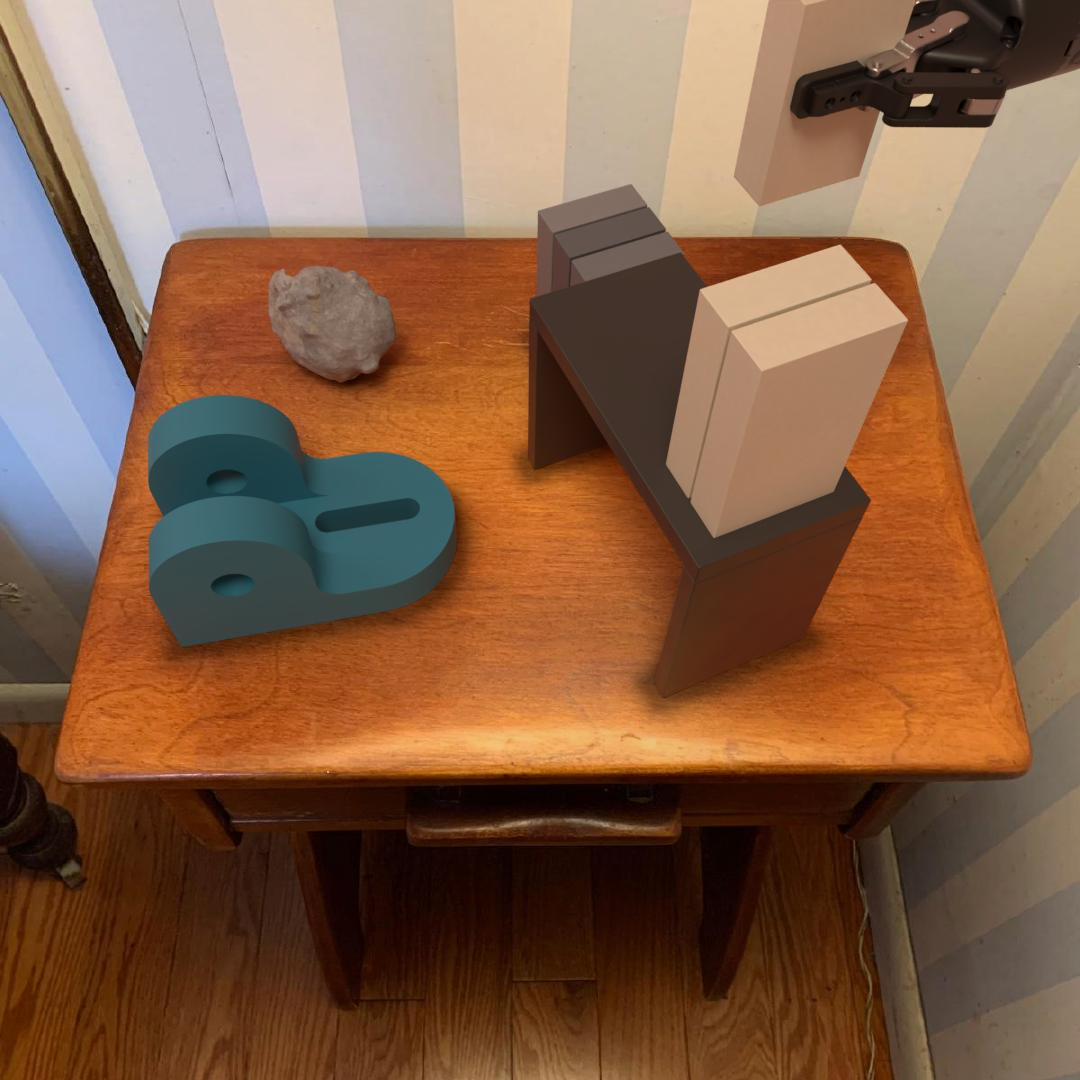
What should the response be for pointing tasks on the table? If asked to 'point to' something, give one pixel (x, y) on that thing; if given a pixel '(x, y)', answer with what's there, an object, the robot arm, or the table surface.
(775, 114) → the beige rectangular block
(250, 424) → the bracket
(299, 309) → the stone
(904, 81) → the robot arm
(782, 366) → the white books
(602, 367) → the shelf
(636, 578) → the table surface
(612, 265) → the grey books
